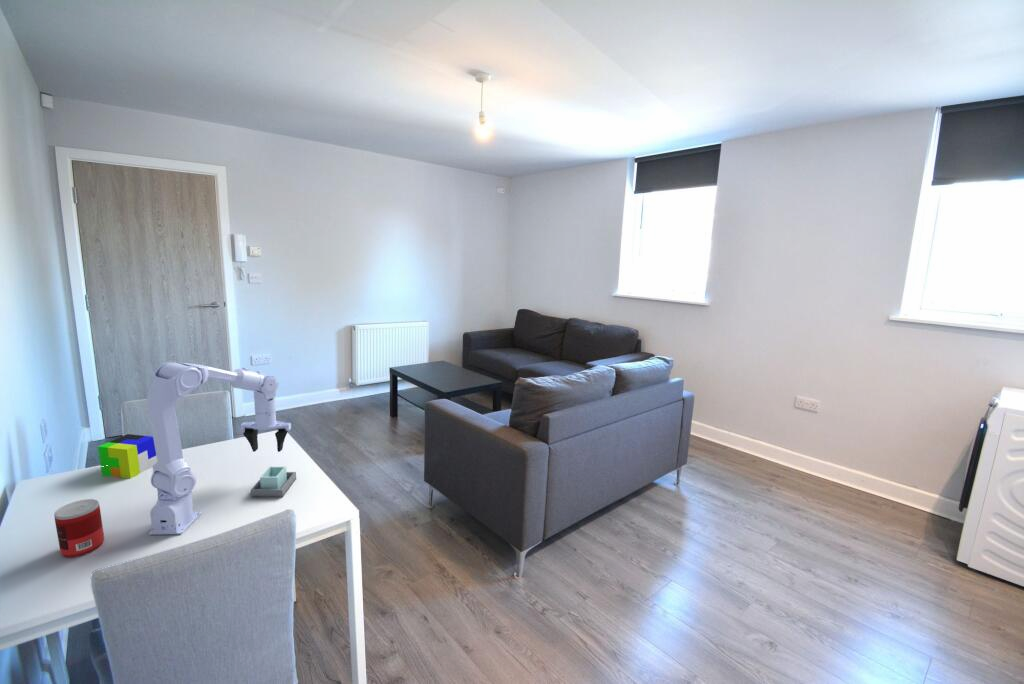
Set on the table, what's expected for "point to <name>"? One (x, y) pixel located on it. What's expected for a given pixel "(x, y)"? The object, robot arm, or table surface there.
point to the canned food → (79, 527)
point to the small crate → (273, 478)
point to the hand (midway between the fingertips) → (267, 450)
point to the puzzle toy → (127, 456)
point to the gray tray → (259, 492)
